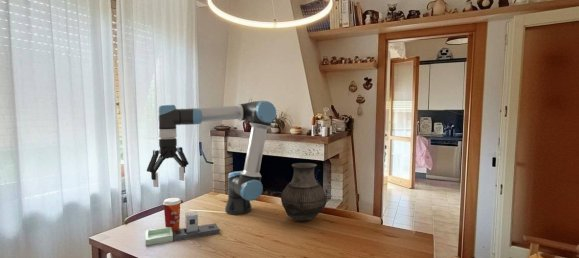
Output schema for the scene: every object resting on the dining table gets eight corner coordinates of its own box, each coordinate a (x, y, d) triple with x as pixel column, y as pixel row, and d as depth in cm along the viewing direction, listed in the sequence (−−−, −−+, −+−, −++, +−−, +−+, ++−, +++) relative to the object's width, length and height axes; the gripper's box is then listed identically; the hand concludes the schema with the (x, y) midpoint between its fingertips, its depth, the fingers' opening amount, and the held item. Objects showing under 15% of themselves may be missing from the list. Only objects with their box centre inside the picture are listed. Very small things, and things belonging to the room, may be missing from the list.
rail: (215, 227, 146) (215, 223, 146) (219, 233, 138) (219, 228, 138) (173, 234, 137) (172, 229, 137) (174, 241, 130) (174, 236, 130)
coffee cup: (175, 234, 138) (174, 202, 137) (159, 232, 139) (159, 201, 138) (184, 227, 146) (184, 197, 145) (170, 225, 147) (169, 196, 147)
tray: (171, 231, 140) (171, 226, 140) (173, 240, 130) (172, 235, 130) (145, 235, 135) (145, 230, 135) (145, 245, 125) (145, 239, 125)
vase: (321, 231, 141) (321, 170, 139) (273, 225, 149) (274, 167, 147) (330, 214, 165) (331, 162, 163) (289, 209, 172) (289, 159, 170)
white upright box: (196, 231, 140) (196, 211, 140) (198, 235, 136) (197, 214, 135) (185, 233, 138) (185, 212, 137) (186, 237, 133) (186, 216, 133)
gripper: (185, 135, 147) (186, 176, 148) (136, 140, 126) (138, 188, 127) (195, 136, 142) (196, 178, 144) (146, 141, 122) (148, 190, 123)
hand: (169, 183), depth 136 cm, fingers open, 13 cm apart
